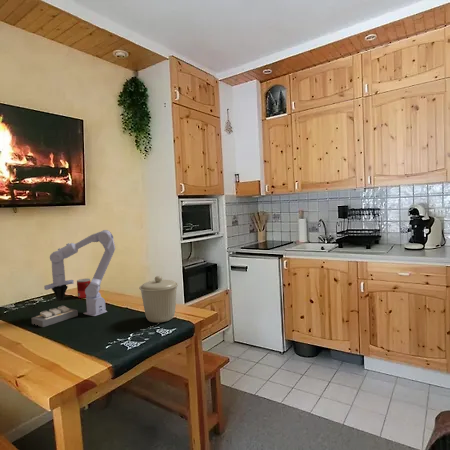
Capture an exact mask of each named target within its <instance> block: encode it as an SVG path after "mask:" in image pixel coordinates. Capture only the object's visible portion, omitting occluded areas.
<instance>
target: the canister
mask: <svg viewBox="0 0 450 450" xmlns="http://www.w3.org/2000/svg"><path fill="white" fill-rule="evenodd" d="M178 285H179V283H178V282H176V281H174V280H171V279H163V277H162V276H161V275H156V276H155V277H154V280H151V281H150V280H149V281H146V282H144V283H142V285H140V286H139V290H140V292H141V293H140V294H141V298H142V305H143V310H144V314H145V317H146V319H147V321H149V322H150V323H159V324H160V323H166V322H168V321H170V320H172V319H173V318H174V317H175V313H176V303H177V287H178Z"/></svg>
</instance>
